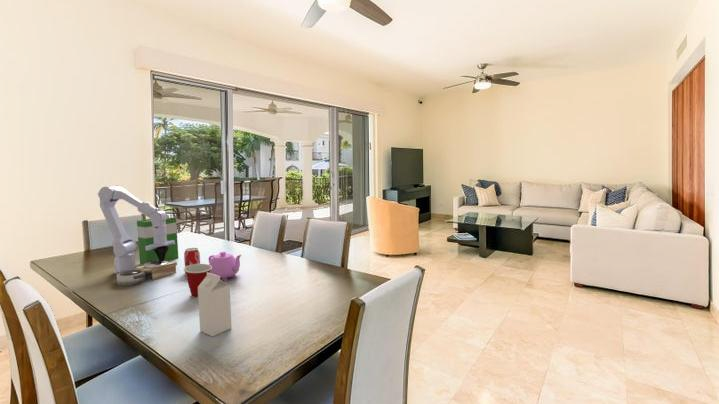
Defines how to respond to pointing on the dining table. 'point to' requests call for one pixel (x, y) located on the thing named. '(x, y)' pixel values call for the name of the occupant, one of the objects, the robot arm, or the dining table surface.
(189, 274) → the plastic cup
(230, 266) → the teapot
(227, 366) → the dining table surface
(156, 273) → the lid rest
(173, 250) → the hardback book
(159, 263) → the lid
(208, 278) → the milk carton
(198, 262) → the soda can
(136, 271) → the cooker
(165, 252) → the robot arm
